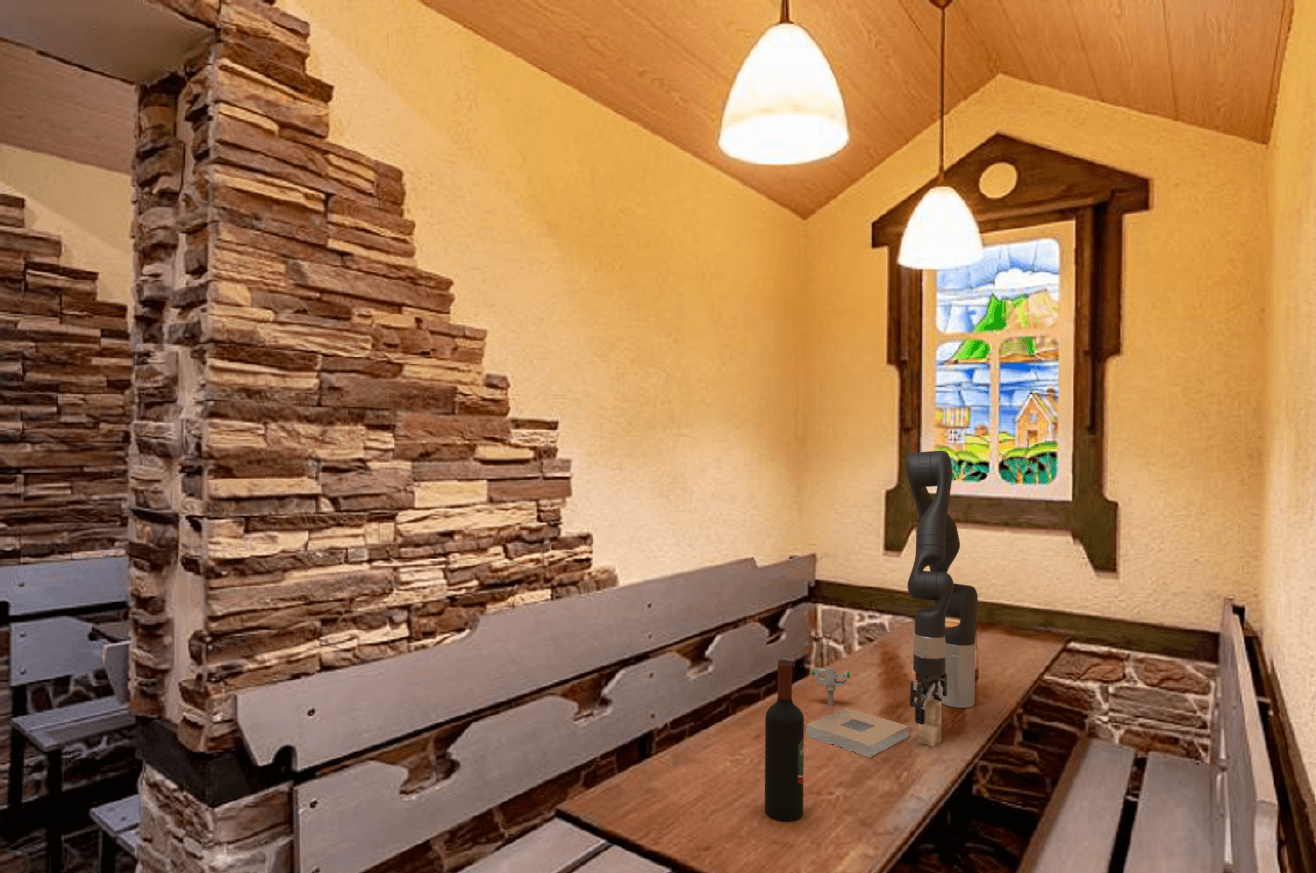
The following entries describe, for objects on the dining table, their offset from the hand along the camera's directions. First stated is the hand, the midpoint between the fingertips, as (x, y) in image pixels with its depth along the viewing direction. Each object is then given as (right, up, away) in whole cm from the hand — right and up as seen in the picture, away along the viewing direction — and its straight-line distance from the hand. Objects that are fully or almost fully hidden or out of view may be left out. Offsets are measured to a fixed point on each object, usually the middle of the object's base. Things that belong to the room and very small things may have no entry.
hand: (928, 719), depth 193 cm
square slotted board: (-17, -5, +3) cm, 18 cm away
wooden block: (0, -6, 0) cm, 6 cm away
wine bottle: (-41, -6, -36) cm, 55 cm away
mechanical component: (-18, -6, +25) cm, 32 cm away
